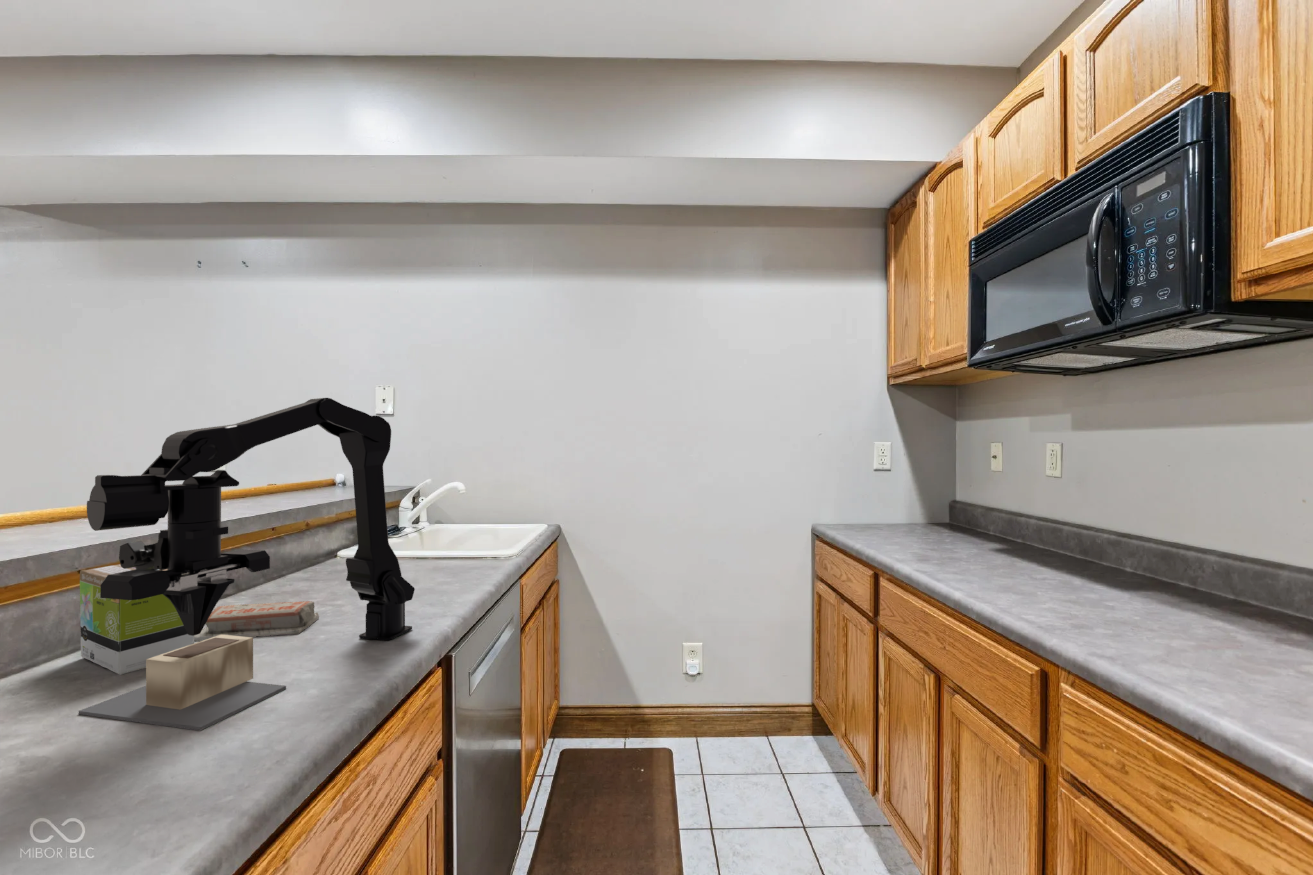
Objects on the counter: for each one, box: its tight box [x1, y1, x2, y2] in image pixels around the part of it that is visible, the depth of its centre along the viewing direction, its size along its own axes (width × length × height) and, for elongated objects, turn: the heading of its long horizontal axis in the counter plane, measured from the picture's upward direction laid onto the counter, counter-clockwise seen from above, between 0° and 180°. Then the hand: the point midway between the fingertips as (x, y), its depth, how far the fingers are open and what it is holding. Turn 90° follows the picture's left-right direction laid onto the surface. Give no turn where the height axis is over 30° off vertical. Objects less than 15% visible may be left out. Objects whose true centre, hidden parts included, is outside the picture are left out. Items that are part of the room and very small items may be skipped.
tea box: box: [79, 563, 195, 676], centre depth 93 cm, size 15×10×15 cm
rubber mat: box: [78, 681, 287, 731], centre depth 77 cm, size 12×20×1 cm, turn 77°
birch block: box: [145, 634, 254, 710], centre depth 79 cm, size 6×6×10 cm
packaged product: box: [194, 600, 320, 642], centre depth 107 cm, size 18×5×10 cm
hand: (194, 634), depth 78 cm, fingers closed
